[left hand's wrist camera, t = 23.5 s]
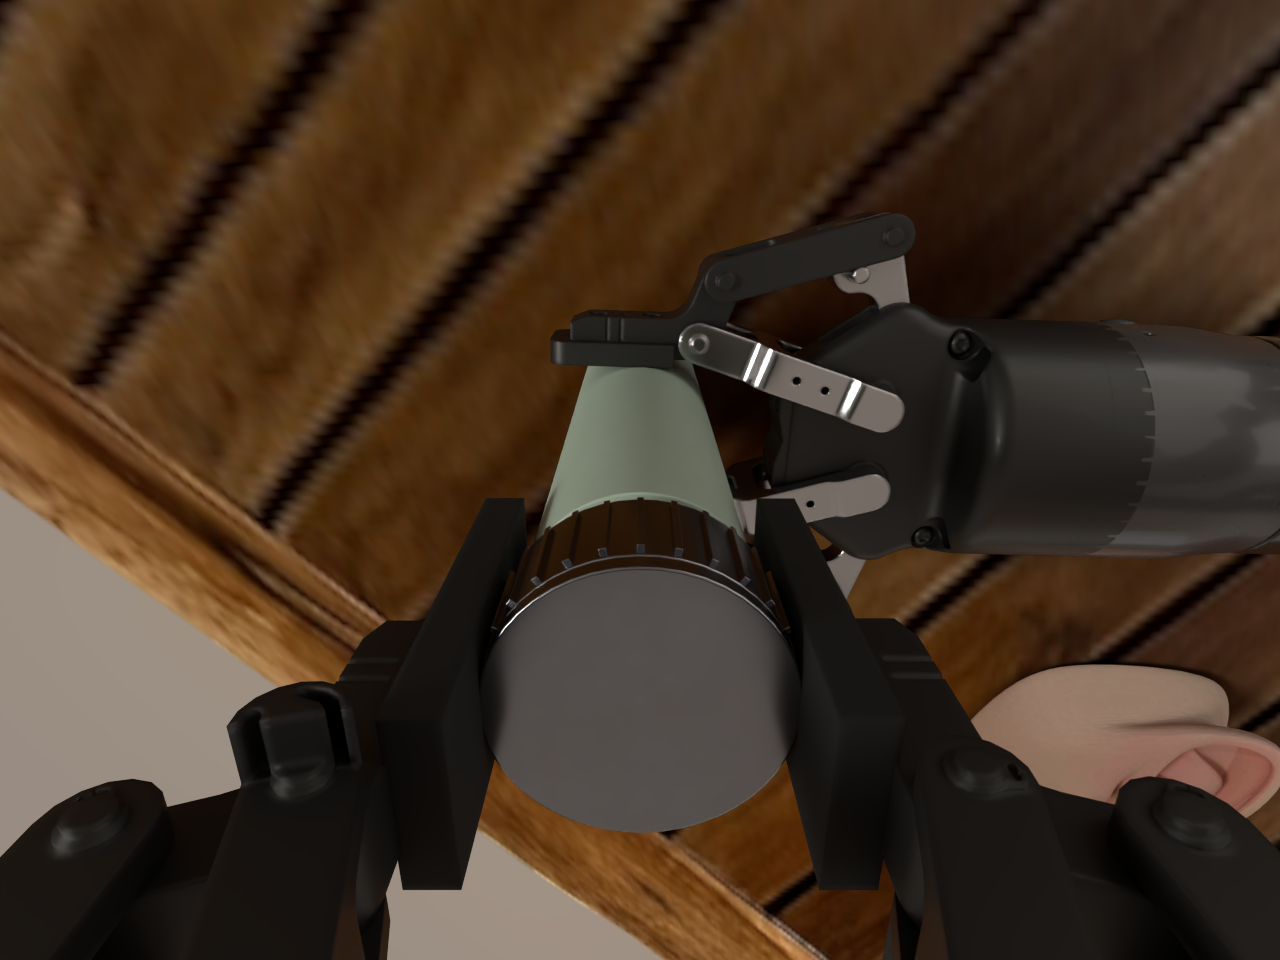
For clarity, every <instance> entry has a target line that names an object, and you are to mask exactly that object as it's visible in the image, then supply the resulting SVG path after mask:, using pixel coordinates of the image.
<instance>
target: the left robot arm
mask: <svg viewBox="0 0 1280 960" xmlns="http://www.w3.org/2000/svg"><path fill="white" fill-rule="evenodd" d="M526 547H527V537H526V521H525V505H524V498H486V500H485V502H484V504H483V506H482V508H481V510H480V512H479V514H478V516H477V518H476V520H475V522H474V524H473V526H472V527H471V529H470V531H469V533H468V535H467V537H466V539H465V541H464V543H463V545H462V547H461V549H460V551H459V553H458V555H457V557H456V559H455V561H454V563H453V565H452V567H451V569H450V571H449V573H448V575H447V577H446V579H445V581H444V583H443V585H442V587H441V589H440V591H439V593H438V595H437V597H436V599H435V601H434V603H433V605H432V607H431V609H430V611H429V613H428V615H427V617H426V619H425V621H386V622H385V623H383V624H382V625H381V626H379V627H378V628H377V629H375V630H374V631H373V632H371V633H370V634H369V635H367V636H366V637H365V638H363V640H362V641H361V643H360V645H359V646H358V648H357V649H356V651H355V653H354V654H353V656H352V657H351V659H350V664H347V665H346V667H345V669H344V670H343V672H342V674H341V675H340V677H339V682H336V683H335V684H331V683H327V682H324V681H315V682H299V683H295V684H290V685H286V686H282V687H278V688H276V689H274V690H271V691H269V692H267V693H265V694H263V695H261V696H258V697H256V698H255V699H253V700H252V701H251V702H249V703H248V704H247V705H245V706H244V707H243V708H241V709H240V710H239V711H238V712H237V713H236V714H235V716H234V717H233V719H232V720H231V721H230V723H229V724H228V725H227V730H228V734H229V738H230V742H231V745H232V749H233V753H234V757H235V761H236V764H237V768H238V772H239V776H240V780H241V787H240V788H239V789H237V790H233V791H230V792H227V793H223V794H220V795H216V796H212V797H208V798H204V799H199V800H195V801H191V802H187V803H182V804H178V805H174V806H170V807H167V805H166V802H165V799H164V795H163V792H162V791H161V790H160V789H159V788H158V787H156V786H155V785H154V784H153V783H152V782H148V781H141V780H136V779H129V780H120V781H113V782H107V783H104V784H101V785H98V786H95V787H93V788H90V789H87V790H84V791H81V792H79V793H77V794H75V795H74V796H72V797H70V798H68V799H66V800H65V801H63V802H61V803H59V804H57V805H55V806H54V807H53V808H52V809H50V810H49V811H48V812H47V813H45V814H44V815H43V816H42V817H41V818H39V819H38V820H37V821H36V822H34V823H33V824H32V825H31V826H30V827H29V828H28V829H27V830H26V831H25V832H24V833H23V834H22V835H21V836H20V837H19V838H18V840H17V841H16V842H15V843H14V844H13V845H12V846H11V847H10V848H9V849H8V850H7V851H6V852H5V853H4V854H3V855H2V856H1V857H0V960H387V951H388V940H389V928H390V916H389V910H388V903H387V898H386V891H387V888H388V886H389V883H390V880H391V878H392V875H393V872H394V869H395V867H396V864H397V861H398V864H399V870H400V876H401V882H402V888H403V890H461V889H462V885H463V881H464V877H465V873H466V870H467V866H468V862H469V858H470V854H471V850H472V846H473V842H474V838H475V834H476V830H477V827H478V823H479V819H480V815H481V811H482V807H483V803H484V799H485V795H486V791H487V788H488V784H489V780H490V776H491V772H492V768H493V764H494V760H495V758H494V756H493V754H492V752H491V751H490V749H489V747H488V744H487V742H486V739H485V736H484V734H483V725H482V716H481V706H480V695H479V679H480V674H481V671H482V667H483V664H484V660H485V655H486V652H487V649H488V646H489V643H490V640H491V637H492V633H489V629H490V626H491V624H492V621H493V618H494V615H495V612H496V609H497V606H498V603H499V600H500V598H501V595H502V592H503V589H504V586H505V583H506V580H507V577H508V575H509V572H510V571H512V572H515V571H516V569H517V566H518V565H519V562H520V559H521V556H522V553H523V550H524V549H525V548H526ZM754 547H755V548H756V549H757V550H758V553H759V556H760V559H761V562H762V565H763V567H764V569H765V571H766V572H769V571H771V573H772V575H773V578H774V580H775V583H776V586H777V589H778V592H779V595H780V598H781V601H782V604H783V606H784V609H785V612H786V615H787V618H788V621H789V624H790V627H791V629H792V633H790V634H788V635H789V638H790V641H791V644H792V647H793V650H794V653H795V656H796V661H797V664H798V667H799V670H800V673H801V679H802V692H801V703H800V713H799V723H798V732H797V736H796V740H795V742H794V744H793V746H792V748H791V750H790V752H789V754H788V756H787V758H786V761H787V765H788V769H789V773H790V777H791V781H792V785H793V789H794V793H795V797H796V800H797V804H798V808H799V812H800V816H801V820H802V824H803V828H804V832H805V836H806V839H807V843H808V847H809V851H810V855H811V859H812V863H813V867H814V871H815V875H816V878H817V882H818V886H819V890H878V886H879V880H880V874H881V868H882V862H883V858H884V861H885V864H886V867H887V869H888V872H889V875H890V877H891V880H892V883H893V886H894V888H895V892H894V898H893V903H892V909H891V914H890V920H889V926H888V931H887V937H886V942H885V948H884V955H883V960H1280V852H1279V851H1278V850H1277V849H1276V848H1275V846H1274V845H1273V844H1272V843H1271V842H1270V841H1269V840H1268V839H1267V838H1266V837H1265V836H1264V835H1263V834H1262V833H1261V832H1260V831H1259V830H1258V829H1257V828H1256V827H1255V826H1254V825H1253V824H1252V823H1251V822H1250V821H1249V820H1248V819H1246V818H1245V817H1244V816H1243V815H1242V814H1240V813H1239V812H1238V811H1237V810H1235V809H1234V808H1233V807H1232V806H1231V805H1229V804H1228V803H1226V802H1225V801H1223V800H1221V799H1219V798H1217V797H1215V796H1214V795H1212V794H1210V793H1208V792H1206V791H1204V790H1203V789H1201V788H1198V787H1195V786H1192V785H1189V784H1186V783H1183V782H1180V781H1177V780H1174V779H1168V778H1160V777H1152V776H1147V777H1141V778H1135V779H1130V780H1129V781H1128V782H1127V783H1126V784H1124V785H1123V786H1122V787H1121V788H1120V789H1119V792H1118V795H1117V798H1116V801H1115V804H1111V803H1107V802H1102V801H1098V800H1094V799H1089V798H1085V797H1081V796H1077V795H1072V794H1068V793H1064V792H1060V791H1057V790H1054V789H1050V788H1047V787H1044V786H1041V785H1039V783H1038V782H1037V780H1036V778H1035V777H1034V775H1033V774H1032V772H1031V770H1030V769H1029V767H1028V766H1027V765H1025V764H1024V763H1023V762H1022V761H1021V760H1020V759H1018V758H1017V757H1016V756H1015V755H1014V754H1012V753H1011V752H1009V751H1008V750H1006V749H1004V748H1002V747H1000V746H998V745H996V744H994V743H992V742H990V741H986V740H982V738H981V736H980V735H979V733H978V732H977V730H976V728H975V727H974V725H973V724H972V722H971V720H970V719H969V717H968V716H967V714H966V712H965V711H964V709H963V708H962V706H961V704H960V703H959V701H958V700H957V698H956V696H955V695H954V693H953V692H952V690H951V688H950V687H949V685H948V684H947V682H946V680H945V679H942V674H941V672H940V671H939V669H938V668H937V666H936V664H935V663H934V662H932V661H931V656H930V655H929V653H928V652H927V650H926V648H925V647H924V645H923V644H922V642H921V640H920V639H919V637H918V636H917V635H915V634H914V633H913V632H911V631H910V630H909V629H907V628H906V627H905V626H903V625H902V624H901V623H899V622H898V621H897V620H895V619H855V617H854V615H853V613H852V611H851V609H850V607H849V605H848V603H847V601H846V599H845V597H844V595H843V593H842V591H841V589H840V587H839V585H838V584H837V582H836V580H835V578H834V576H833V574H832V572H831V570H830V568H829V566H828V564H827V562H826V560H825V558H824V556H823V554H822V552H821V550H820V548H819V546H818V544H817V542H816V540H815V538H814V536H813V534H812V532H811V530H810V528H809V526H808V524H807V522H806V520H805V518H804V516H803V514H802V512H801V510H800V508H799V506H798V504H797V502H796V500H795V498H757V501H756V516H755V532H754Z"/></svg>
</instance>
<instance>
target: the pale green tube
mask: <svg viewBox="0 0 1280 960" xmlns="http://www.w3.org/2000/svg"><path fill="white" fill-rule="evenodd" d="M637 497H644V500H659V501H666V502H671V500H673V501H677V502H678V504H680V505H683V506H687V507H690V508H694V509H696V510H698V511H700V512H702V511H703V510H705V511H707V512H709V515H710V516H711V517H713V518H715V519H716V520H718V521H720V522H721V523H723V524H725V525H726V526H728V527H729V528H730V526H733V527H734V528H735V529H736V531H737V534H738V535H739V536H740V537H741V538H742V539H743V540H744V541H745V542H746V539H745V536H744V533H743V530H742V526H741V523H740V520H739V516H738V513H737V510H736V507H735V503H734V500H733V497H732V493H731V490H730V487H729V484H728V480H727V477H726V474H725V470H724V467H723V464H722V461H721V457H720V454H719V451H718V447H717V444H716V441H715V438H714V434H713V431H712V428H711V424H710V421H709V418H708V415H707V411H706V408H705V405H704V401H703V398H702V395H701V392H700V388H699V385H698V382H697V378H696V375H695V372H694V369H693V365H692V363H690V362H688V361H687V360H674V368H673V369H665V368H645V367H606V366H588V368H587V371H586V374H585V377H584V381H583V384H582V387H581V391H580V394H579V397H578V400H577V404H576V407H575V410H574V414H573V417H572V420H571V424H570V427H569V430H568V433H567V437H566V440H565V443H564V447H563V450H562V453H561V457H560V460H559V463H558V466H557V470H556V473H555V476H554V480H553V483H552V486H551V490H550V493H549V496H548V499H547V503H546V506H545V509H544V513H543V516H542V519H541V523H540V526H539V529H538V532H537V536H536V539H535V542H536V541H537V540H538V539H539V538H540V537H541V536H542V535H544V531H545V529H546V528H547V527H548V526H551V527H553V526H555V525H556V524H558V523H560V522H561V521H563V520H564V519H566V518H568V517H570V516H572V512H574V511H576V510H578V511H579V512H580V511H582V510H585V509H588V508H591V507H594V506H597V505H600V504H604V501H608V500H610V502H615V501H621V500H634V499H637ZM535 542H534V543H535Z"/></svg>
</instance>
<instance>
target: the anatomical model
mask: <svg viewBox="0 0 1280 960" xmlns="http://www.w3.org/2000/svg"><path fill="white" fill-rule="evenodd" d="M1228 717H1229V703H1228V698H1227V696H1226V693H1225V691H1224V690H1223V689H1222V688H1221V686H1220V685H1218V684H1217V683H1216V682H1214V681H1212V680H1210V679H1208V678H1205V677H1203V676H1200V675H1196V674H1192V673H1187V672H1183V671H1178V670H1171V669H1163V668H1154V667H1144V666H1129V665H1074V666H1065V667H1058V668H1052V669H1048V670H1044V671H1041V672H1038V673H1035V674H1032V675H1030V676H1028V677H1026V678H1024V679H1022V680H1020V681H1018V682H1016V683H1015V684H1013V685H1011V686H1010V687H1008V688H1007V689H1005V690H1004V691H1003V692H1001V693H1000V694H999V695H998V696H996V697H995V698H994V699H992V700H991V701H990V702H989V703H988V704H987V705H986V706H985V707H984V708H982V709H981V710H980V711H979V712H978V713H977V714H976V715H975V716H974V717H973V719H972V720H971V722H972V724H973V725H974V727H975V728H976V730H977V732H978V733H979V735H980V736H981V738H982V740H986V741H990V742H992V743H994V744H996V745H998V746H1000V747H1002V748H1004V749H1006V750H1008V751H1009V752H1011V753H1012V754H1014V755H1015V756H1016V757H1017V758H1018V759H1020V760H1021V761H1022V762H1023V763H1024V764H1025V765H1027V766H1028V767H1029V769H1030V770H1031V772H1032V774H1033V775H1034V777H1035V778H1036V780H1037V782H1038V783H1039V785H1041V786H1044V787H1047V788H1050V789H1054V790H1057V791H1060V792H1064V793H1068V794H1072V795H1077V796H1081V797H1085V798H1089V799H1094V800H1098V801H1102V802H1107V803H1111V804H1115V801H1116V798H1117V795H1118V792H1119V789H1120V788H1121V787H1122V786H1123V785H1124V784H1126V783H1127V782H1128V781H1129V780H1130V779H1135V778H1141V777H1147V776H1152V777H1160V778H1168V779H1174V780H1177V781H1180V782H1183V783H1186V784H1189V785H1192V786H1195V787H1198V788H1201V789H1203V790H1204V791H1206V792H1208V793H1210V794H1212V795H1214V796H1215V797H1217V798H1219V799H1221V800H1223V801H1225V802H1226V803H1228V804H1229V805H1231V806H1232V807H1233V808H1234V809H1235V810H1237V811H1238V812H1239V813H1240V814H1242V815H1243V816H1244V817H1245V818H1247V817H1248V816H1250V815H1251V814H1253V813H1254V812H1255V811H1257V810H1258V809H1259V808H1260V807H1261V806H1263V805H1264V804H1265V803H1266V802H1267V801H1268V800H1269V799H1270V798H1271V797H1272V796H1273V795H1274V794H1275V793H1276V791H1277V790H1278V789H1279V787H1280V748H1279V747H1278V746H1277V745H1276V744H1274V743H1272V742H1271V741H1269V740H1267V739H1265V738H1263V737H1261V736H1259V735H1256V734H1254V733H1251V732H1247V731H1244V730H1240V729H1235V728H1230V727H1227V724H1228Z"/></svg>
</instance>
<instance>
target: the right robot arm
mask: <svg viewBox="0 0 1280 960" xmlns="http://www.w3.org/2000/svg"><path fill="white" fill-rule="evenodd" d="M914 240H915V227H914V225H913V223H912V221H911V220H910V219H909V218H908V217H906V216H905V215H902V214H895V213H882V212H865V213H861V214H857V215H854V216H850V217H846V218H843V219H839V220H835V221H832V222H828V223H824V224H821V225H817V226H813V227H810V228H806V229H802V230H799V231H795V232H791V233H788V234H784V235H780V236H777V237H773V238H769V239H766V240H762V241H758V242H755V243H751V244H747V245H744V246H740V247H736V248H733V249H729V250H725V251H722V252H718V253H714V254H711V255H709V256H707V257H706V258H705V259H704V260H703V261H702V263H701V264H700V267H699V271H698V276H697V278H696V281H695V283H694V286H693V288H692V290H691V293H690V295H689V297H688V299H687V301H686V302H685V303H684V304H683V305H682V306H681V307H680V308H678V309H676V310H674V311H670V312H647V311H618V310H588V311H585V312H582V313H580V314H577V315H574V317H573V319H572V320H571V322H570V329H561V330H556V331H555V332H554V334H553V335H552V337H551V338H550V347H551V362H552V363H554V364H558V365H576V366H606V367H645V368H665V369H673V368H674V360H687V361H688V362H690V363H692V364H695V365H698V366H701V367H704V368H707V369H710V370H713V371H716V372H719V373H722V374H724V375H727V376H730V377H733V378H736V379H739V380H742V381H744V382H746V383H748V384H749V385H751V386H753V387H754V388H757V389H759V390H761V391H764V392H767V393H769V396H768V401H769V407H770V413H771V418H772V423H771V426H770V429H769V431H768V434H767V437H766V439H765V442H764V445H763V455H762V457H758V458H754V459H750V460H746V461H742V462H739V463H735V464H733V465H731V466H730V467H729V468H728V469H727V470H725V474H726V477H727V480H728V484H729V487H730V490H731V493H732V497H733V500H734V503H735V507H736V510H737V513H738V516H739V520H740V523H741V526H742V530H743V532H745V533H747V534H751V535H754V532H755V516H756V501H757V498H795V500H796V502H797V504H798V506H799V508H800V510H801V512H802V514H803V516H804V518H805V520H806V522H807V524H808V525H809V526H810V527H812V528H813V529H814V530H815V531H817V532H818V533H819V534H821V535H822V536H823V537H825V538H826V539H827V540H829V541H830V542H831V543H833V544H832V545H831V546H830V547H828V548H826V549H823V550H821V552H822V554H823V556H824V558H825V560H826V562H827V564H828V566H829V568H830V570H831V572H832V574H833V576H834V578H835V580H836V582H837V584H838V585H839V587H840V589H841V591H842V593H843V595H844V597H845V599H846V601H847V597H848V595H849V593H850V591H851V589H852V587H853V585H854V583H855V581H856V579H857V577H858V575H859V573H860V571H861V569H862V567H863V565H864V563H865V561H866V560H873V559H878V558H881V557H883V556H886V555H888V554H890V553H893V552H895V551H898V550H902V549H907V548H923V549H929V550H935V551H941V552H949V553H973V554H1007V555H1040V556H1042V555H1043V556H1080V557H1110V558H1170V557H1182V556H1190V555H1198V554H1208V553H1251V554H1280V337H1268V336H1241V335H1230V334H1224V333H1218V332H1213V331H1208V330H1203V329H1197V328H1190V327H1183V326H1172V325H1159V324H1139V323H1137V322H1132V321H1130V320H1122V319H1113V320H1101V321H1100V322H1068V321H1041V320H1011V319H981V318H951V317H940V316H936V315H933V314H931V313H930V312H928V311H927V310H926V309H924V308H923V307H921V306H919V305H916V304H913V303H911V302H910V301H909V293H908V285H907V277H906V269H905V261H904V255H905V254H906V253H907V252H908V251H909V250H910V249H911V247H912V245H913V243H914ZM825 277H828V280H829V282H830V283H831V284H832V285H833V286H834V287H836V288H838V289H840V290H842V291H844V292H846V293H864V294H865V295H866V296H867V297H868V299H869V302H870V305H869V306H867V307H866V308H864V309H863V310H861V311H860V312H858V313H856V314H855V315H853V316H852V317H850V318H849V319H847V320H845V321H844V322H842V323H841V324H839V325H838V326H836V327H834V328H833V329H831V330H830V331H828V332H827V333H825V334H823V335H822V336H820V337H819V338H817V339H816V340H814V341H812V342H811V343H809V344H808V345H806V346H805V347H803V346H800V345H797V344H795V343H792V342H789V341H786V340H783V339H781V338H778V337H775V336H772V335H769V334H766V333H764V332H761V331H758V330H754V329H748V328H744V327H741V326H739V325H736V324H733V323H730V322H728V320H729V318H730V316H731V313H732V311H733V309H734V307H735V304H736V302H737V301H739V300H742V299H746V298H750V297H754V296H757V295H761V294H765V293H769V292H772V291H776V290H780V289H784V288H788V287H791V286H795V285H799V284H803V283H806V282H810V281H814V280H818V279H821V278H825ZM765 474H766V475H765ZM747 544H748V545H749V547H750V548H753V547H754V545H752V544H749V543H747ZM847 603H848V602H847ZM848 605H849V604H848ZM849 607H850V606H849ZM850 609H851V608H850ZM851 611H852V610H851Z"/></svg>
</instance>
